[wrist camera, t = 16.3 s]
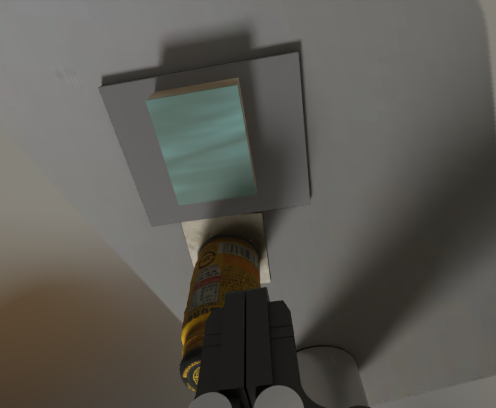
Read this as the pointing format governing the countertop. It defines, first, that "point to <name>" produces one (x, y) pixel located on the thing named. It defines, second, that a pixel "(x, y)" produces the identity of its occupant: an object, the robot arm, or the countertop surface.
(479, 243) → the countertop surface
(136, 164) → the mat
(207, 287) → the condiment
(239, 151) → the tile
